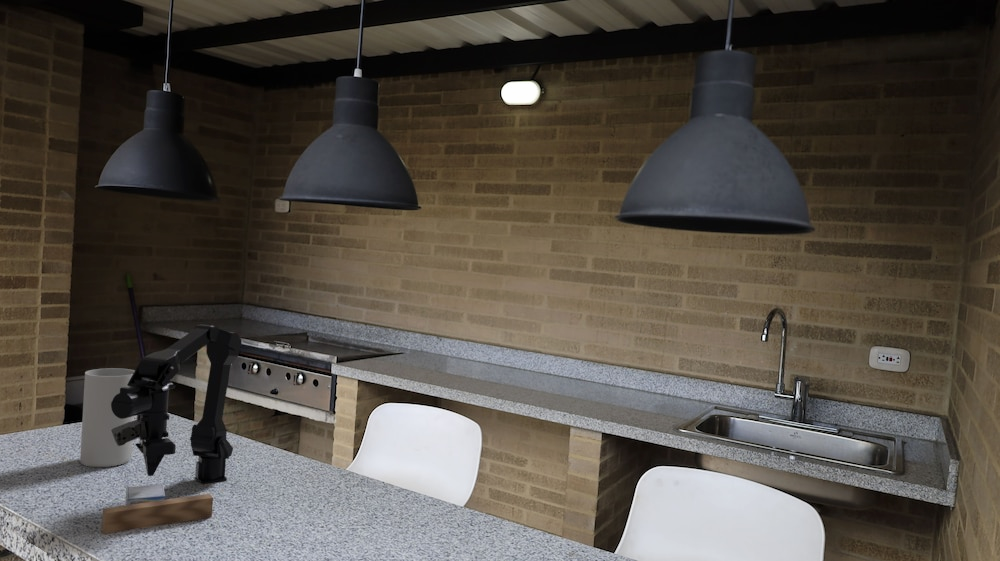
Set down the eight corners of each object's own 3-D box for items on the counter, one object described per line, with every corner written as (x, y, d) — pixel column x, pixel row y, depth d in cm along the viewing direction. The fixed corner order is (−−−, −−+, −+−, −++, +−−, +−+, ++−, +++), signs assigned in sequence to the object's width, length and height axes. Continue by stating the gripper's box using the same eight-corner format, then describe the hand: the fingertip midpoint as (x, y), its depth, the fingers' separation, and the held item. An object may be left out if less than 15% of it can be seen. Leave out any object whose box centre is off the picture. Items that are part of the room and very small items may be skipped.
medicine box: (125, 504, 165) (125, 518, 158) (126, 486, 165) (126, 498, 158) (162, 501, 169) (164, 514, 162) (163, 483, 169) (165, 495, 161)
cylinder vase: (134, 465, 193) (139, 375, 193) (81, 470, 186) (87, 377, 186) (128, 452, 204) (133, 367, 203) (78, 457, 197) (83, 369, 196)
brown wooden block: (208, 512, 165) (209, 493, 164) (211, 516, 162) (213, 497, 162) (101, 529, 151) (102, 508, 151) (103, 534, 149) (105, 513, 149)
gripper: (108, 403, 167) (105, 468, 167) (123, 422, 152) (118, 492, 153) (159, 400, 174) (155, 462, 174) (178, 417, 159) (173, 485, 159)
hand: (150, 475), depth 165 cm, fingers closed
